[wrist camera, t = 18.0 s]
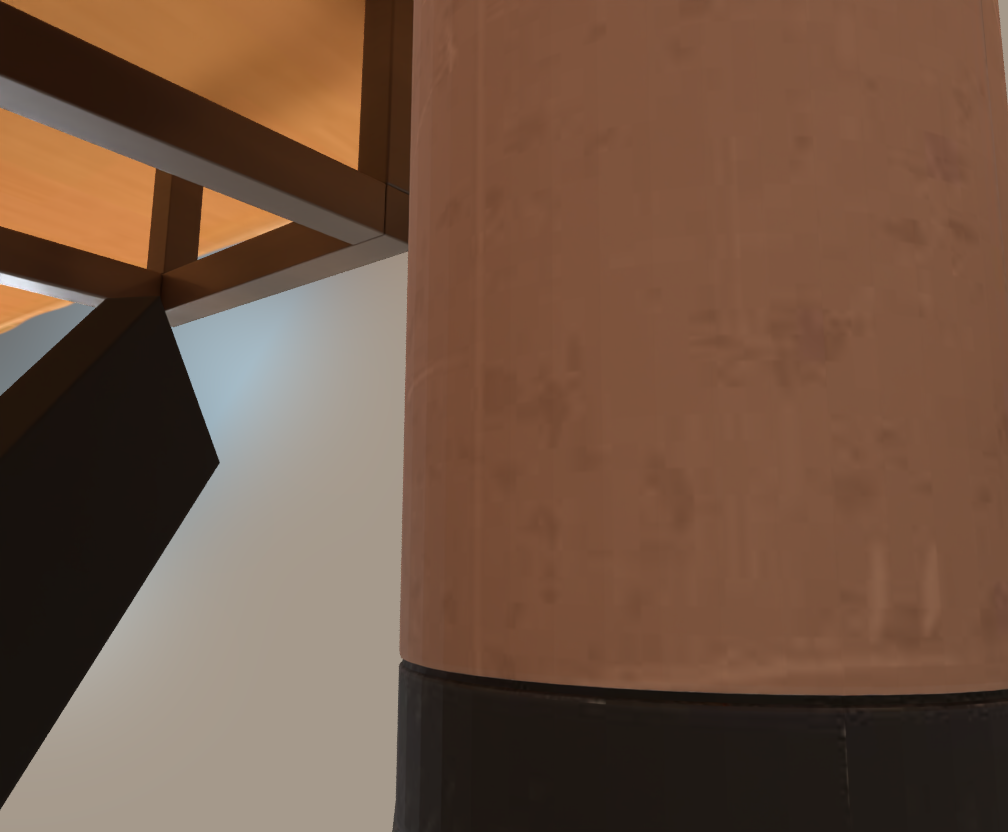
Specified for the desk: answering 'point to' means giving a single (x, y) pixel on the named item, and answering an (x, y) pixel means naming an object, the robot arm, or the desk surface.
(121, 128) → the rack
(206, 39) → the desk surface
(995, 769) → the travel mug
